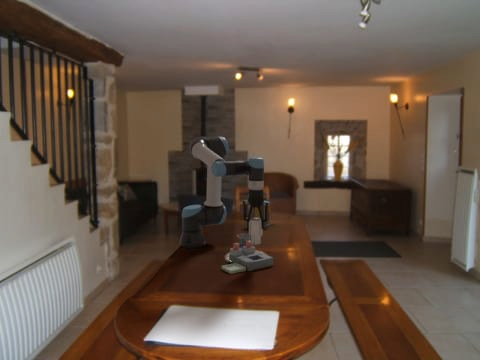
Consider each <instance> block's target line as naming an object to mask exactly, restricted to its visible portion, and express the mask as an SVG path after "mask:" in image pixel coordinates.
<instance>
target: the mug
mask: <svg viewBox="0 0 480 360" xmlns="http://www.w3.org/2000/svg"><path fill="white" fill-rule="evenodd" d="M236 238H237V241H238V243H239V248H241V249H242V251H243V246H246V241H251V235H249V233H238V234H236Z"/></svg>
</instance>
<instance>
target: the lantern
mask: <svg viewBox="0 0 480 360" xmlns="http://www.w3.org/2000/svg"><path fill="white" fill-rule="evenodd" d="M267 196H268V194H267V193H266V192H265V191H264V200H265V201H267V202H269V206H270V205H272V204H274V202H273V201H271V200H270V199H268V197H267ZM269 206H268V221H267V222H265V228H264V229H267V228H269V227H272V226H274V223H273V222H270V221H269V219H270V214H269V213H270V212H269V211H270V207H269ZM262 211H263V215H264V219H265V205H264V203H263V204H262ZM253 218H260V215H259V211H258V208H256V207H254V209H253Z"/></svg>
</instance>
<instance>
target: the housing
mask: <svg viewBox="0 0 480 360" xmlns="http://www.w3.org/2000/svg"><path fill="white" fill-rule="evenodd" d="M229 260H231V261H232V262H233V263H237V264H240V265H242V266H244V267H246V271H248V272H250V271H253V270H258V269H259V270H260V269H263V268H264V269H265V268H267V267H272V266H274V257H272V256H270V255H268V254H265V253H263V252H261V251H257V250H256V247H255V245H254V246H253V245H252V247H250V248H247V247H246V246H243V251H242V249H241V248H239V250H233V247H231V248H229V253H228V261H229ZM233 263H232V264H233Z"/></svg>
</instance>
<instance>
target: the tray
mask: <svg viewBox="0 0 480 360" xmlns="http://www.w3.org/2000/svg"><path fill="white" fill-rule="evenodd" d="M221 270H222V271H224V272H226V273H228V274H229V275H234V274H237V273H240V272H242V273H243V272H246V271H247V270H246V267H244V266H242V265H240V264H237V263H230V264H225V265H224V264H223V265H221Z"/></svg>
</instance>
